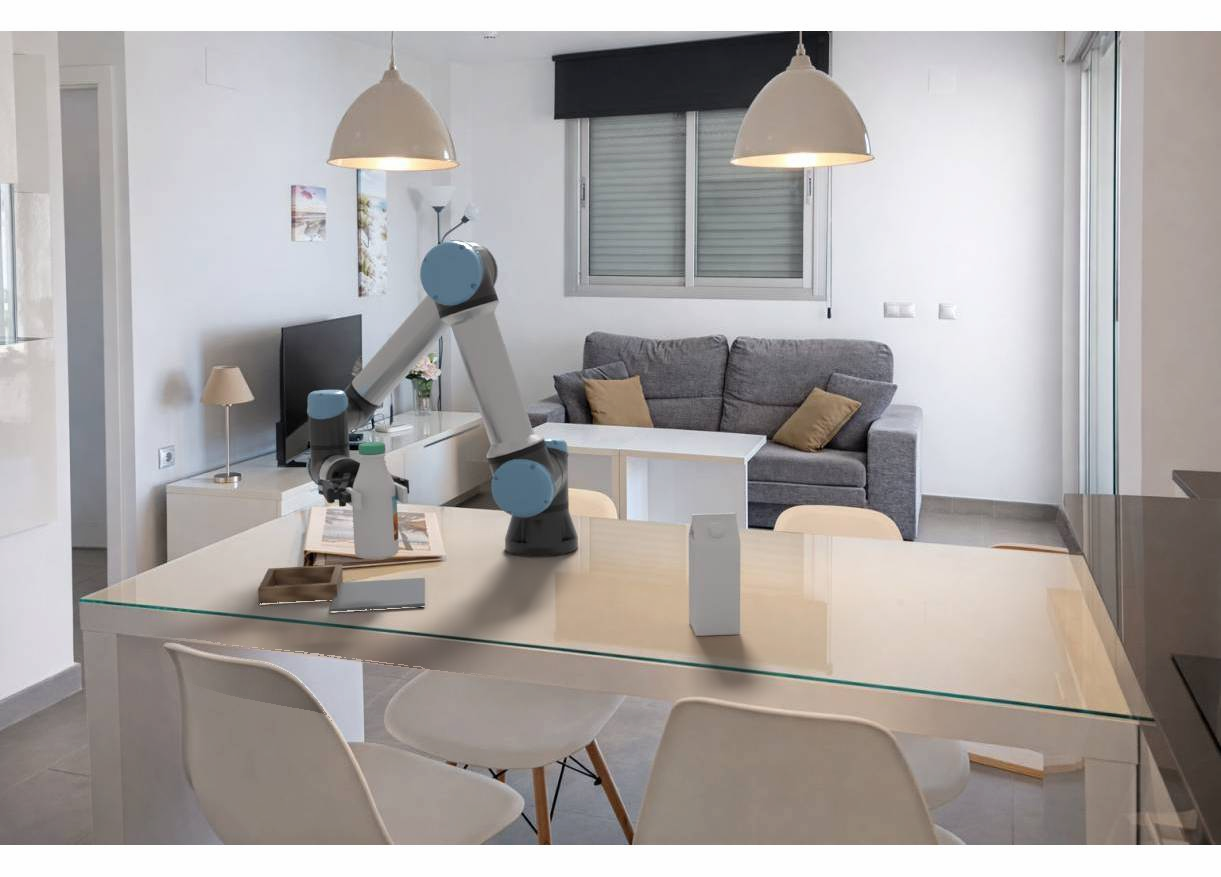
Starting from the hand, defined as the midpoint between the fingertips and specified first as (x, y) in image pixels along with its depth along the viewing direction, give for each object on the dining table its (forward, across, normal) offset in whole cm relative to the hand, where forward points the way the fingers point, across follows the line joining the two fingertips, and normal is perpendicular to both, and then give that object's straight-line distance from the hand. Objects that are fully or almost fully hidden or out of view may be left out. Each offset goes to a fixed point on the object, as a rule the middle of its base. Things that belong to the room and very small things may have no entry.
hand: (382, 498), depth 191 cm
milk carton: (+41, -41, -19) cm, 61 cm away
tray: (-15, +11, -19) cm, 27 cm away
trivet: (-5, 0, -19) cm, 19 cm away
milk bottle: (-5, 0, -11) cm, 12 cm away
